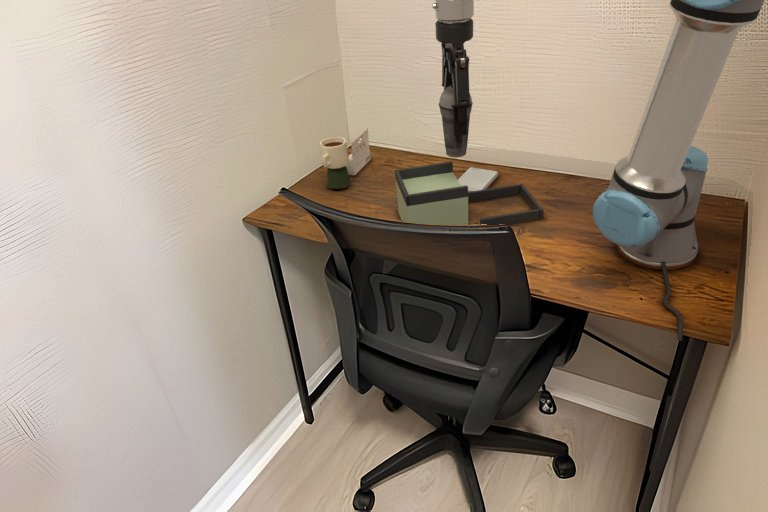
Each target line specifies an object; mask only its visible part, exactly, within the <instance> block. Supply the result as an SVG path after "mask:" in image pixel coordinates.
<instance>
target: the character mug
mask: <svg viewBox="0 0 768 512" xmlns="http://www.w3.org/2000/svg"><path fill="white" fill-rule="evenodd" d="M347 144H348V143H347V139H346V138H344V137H341V136H331V137H330V136H329V137H326V138H324V139H322V140H320V142H319V150H320V152H319V153H320V155H321V160H322V161H321V163H322V166H323V168H327V170H326V181H327V182H326V183H327V187H328V188H329V189H335V190H340V189H346V188H348V187H350V185H351V179H350V175H348V170H347V164H348V163H349V159H348V156H349V153H348V145H347Z"/></svg>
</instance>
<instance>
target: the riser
mask: <svg viewBox="0 0 768 512" xmlns="http://www.w3.org/2000/svg"><path fill="white" fill-rule="evenodd" d="M394 176H395V177H394V179H395V187H396V188H395V189H396V201H397V202H396V203H397V212H398V215H399V218H400V220H401V222H402V221H403V222H408V223H418V224H432V225H468V226H469V203H471V202H473V203H474V202H479V201H485V200H486V201H487V200H492V199H498V198H505V197H511V196H517V195H520V196H521V197H522V198H523V200H524V201H525V203H527V205H528V206H529V207H530V208H531V209H530V210H524V211H518V212H517V211H516V212H511V213H510V212H509V213H504V214H497V215H493V216H492V215H491V216H485V217H479V226H480V225H481V224H487V225H499V224H506V225H505V226H508V225H515V224H520V223H521V224H522V223H528V222H534V221H539V220H543V219H544V211H545V210H544V209H543V207H542V206H541V204H540V203H539V201H538V200H536V198H535V197H534V196H533V195H532V193H531V192H530V191H529V189H528V188H527V187H526V186H525V185H524V183H517V184H511V185H505V186H499V187H491V188H487V189H485V190H479V191H472V192H468V186H461V185H460V183H459V181H458V178H457V176H456V174H455V173H454V163H453V161H444V162H439V163H432V164H425V165H419V166H412V167H405V168H399V169H394Z"/></svg>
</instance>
